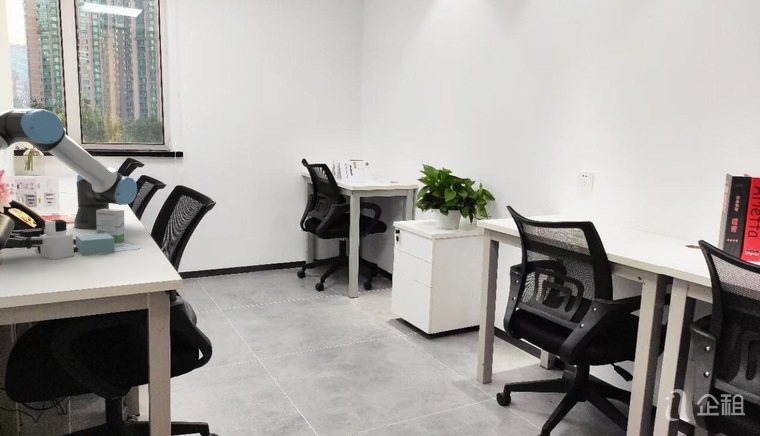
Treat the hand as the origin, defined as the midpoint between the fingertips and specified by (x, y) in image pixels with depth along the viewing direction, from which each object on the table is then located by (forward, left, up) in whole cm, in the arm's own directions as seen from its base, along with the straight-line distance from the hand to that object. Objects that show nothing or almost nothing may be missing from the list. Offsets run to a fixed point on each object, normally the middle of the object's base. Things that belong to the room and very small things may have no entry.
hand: (60, 237), depth 185 cm
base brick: (-3, +11, -6) cm, 13 cm away
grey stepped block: (0, -1, -7) cm, 7 cm away
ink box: (-19, +20, -7) cm, 28 cm away
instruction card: (-5, +20, -6) cm, 21 cm away
